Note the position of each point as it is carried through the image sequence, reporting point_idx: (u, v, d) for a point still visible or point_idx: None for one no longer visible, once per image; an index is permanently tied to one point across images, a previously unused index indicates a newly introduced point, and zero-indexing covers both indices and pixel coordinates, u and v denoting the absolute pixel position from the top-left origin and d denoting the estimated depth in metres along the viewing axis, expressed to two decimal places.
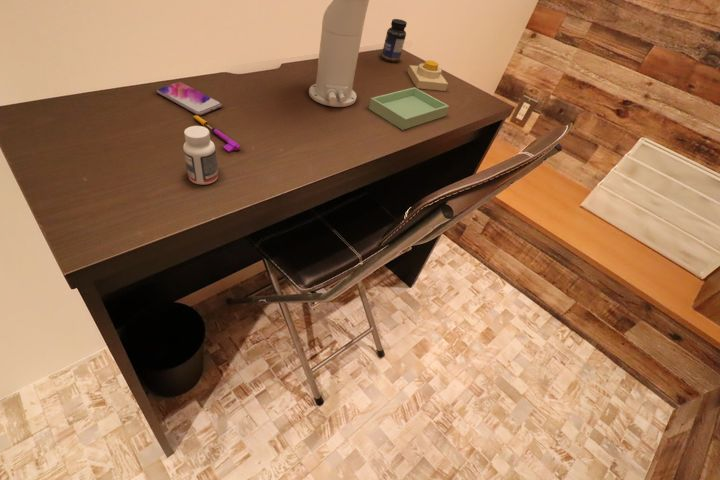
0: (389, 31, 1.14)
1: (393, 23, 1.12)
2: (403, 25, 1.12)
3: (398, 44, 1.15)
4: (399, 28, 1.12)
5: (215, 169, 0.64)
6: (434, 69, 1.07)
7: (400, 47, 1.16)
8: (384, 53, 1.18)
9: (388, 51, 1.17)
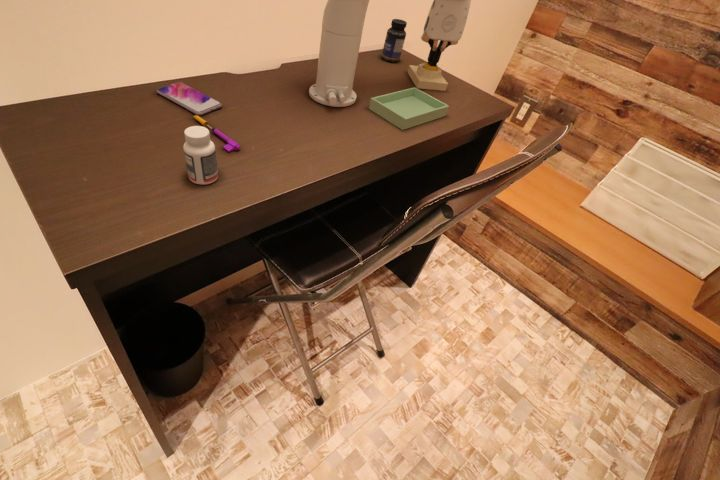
0: (389, 31, 1.14)
1: (393, 23, 1.12)
2: (403, 25, 1.12)
3: (398, 44, 1.15)
4: (399, 28, 1.12)
5: (215, 169, 0.64)
6: None
7: (400, 47, 1.16)
8: (384, 53, 1.18)
9: (388, 51, 1.17)
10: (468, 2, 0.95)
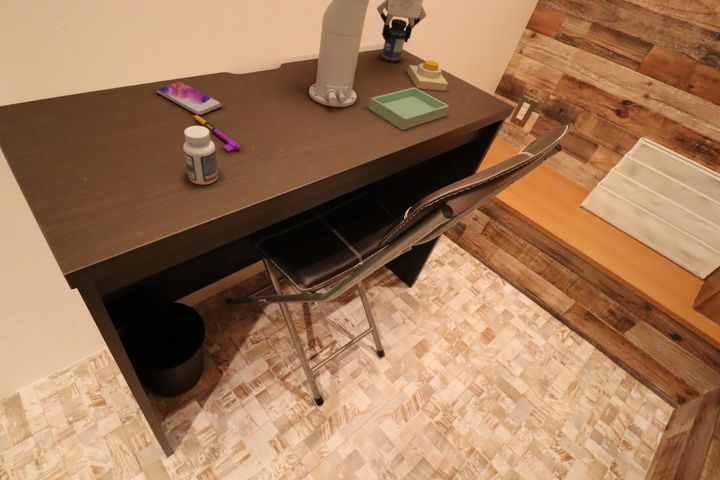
0: (389, 31, 1.14)
1: (393, 23, 1.12)
2: (403, 25, 1.12)
3: (398, 44, 1.15)
4: (399, 28, 1.12)
5: (215, 169, 0.64)
6: (434, 69, 1.07)
7: (400, 47, 1.16)
8: (384, 53, 1.18)
9: (388, 51, 1.17)
10: None
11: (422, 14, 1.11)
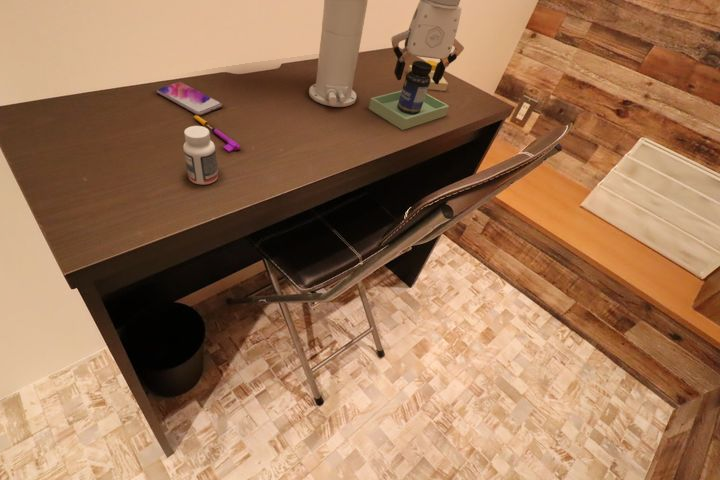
0: (409, 77, 0.87)
1: (414, 67, 0.86)
2: (428, 70, 0.85)
3: (420, 93, 0.89)
4: (422, 73, 0.86)
5: (215, 169, 0.64)
6: (434, 69, 1.07)
7: (423, 96, 0.90)
8: (401, 103, 0.92)
9: (407, 101, 0.90)
10: (458, 12, 0.77)
11: (458, 48, 0.84)
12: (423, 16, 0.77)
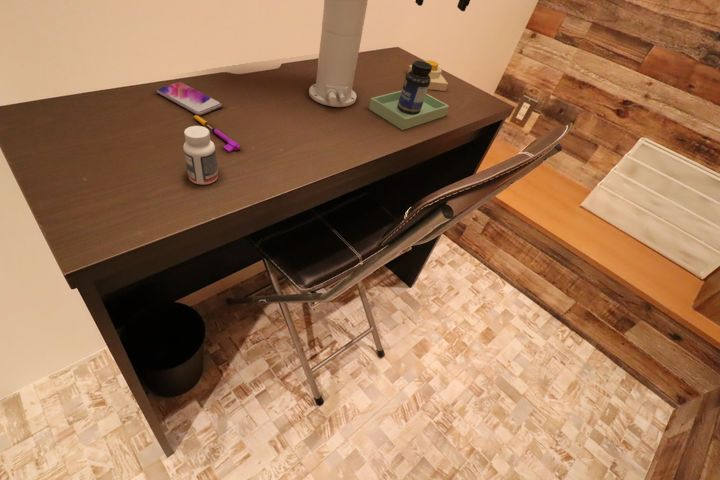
0: (409, 77, 0.87)
1: (414, 67, 0.86)
2: (428, 70, 0.85)
3: (420, 93, 0.89)
4: (422, 73, 0.86)
5: (215, 169, 0.64)
6: (434, 69, 1.07)
7: (423, 96, 0.90)
8: (401, 103, 0.92)
9: (407, 101, 0.90)
10: None
11: None
12: None
